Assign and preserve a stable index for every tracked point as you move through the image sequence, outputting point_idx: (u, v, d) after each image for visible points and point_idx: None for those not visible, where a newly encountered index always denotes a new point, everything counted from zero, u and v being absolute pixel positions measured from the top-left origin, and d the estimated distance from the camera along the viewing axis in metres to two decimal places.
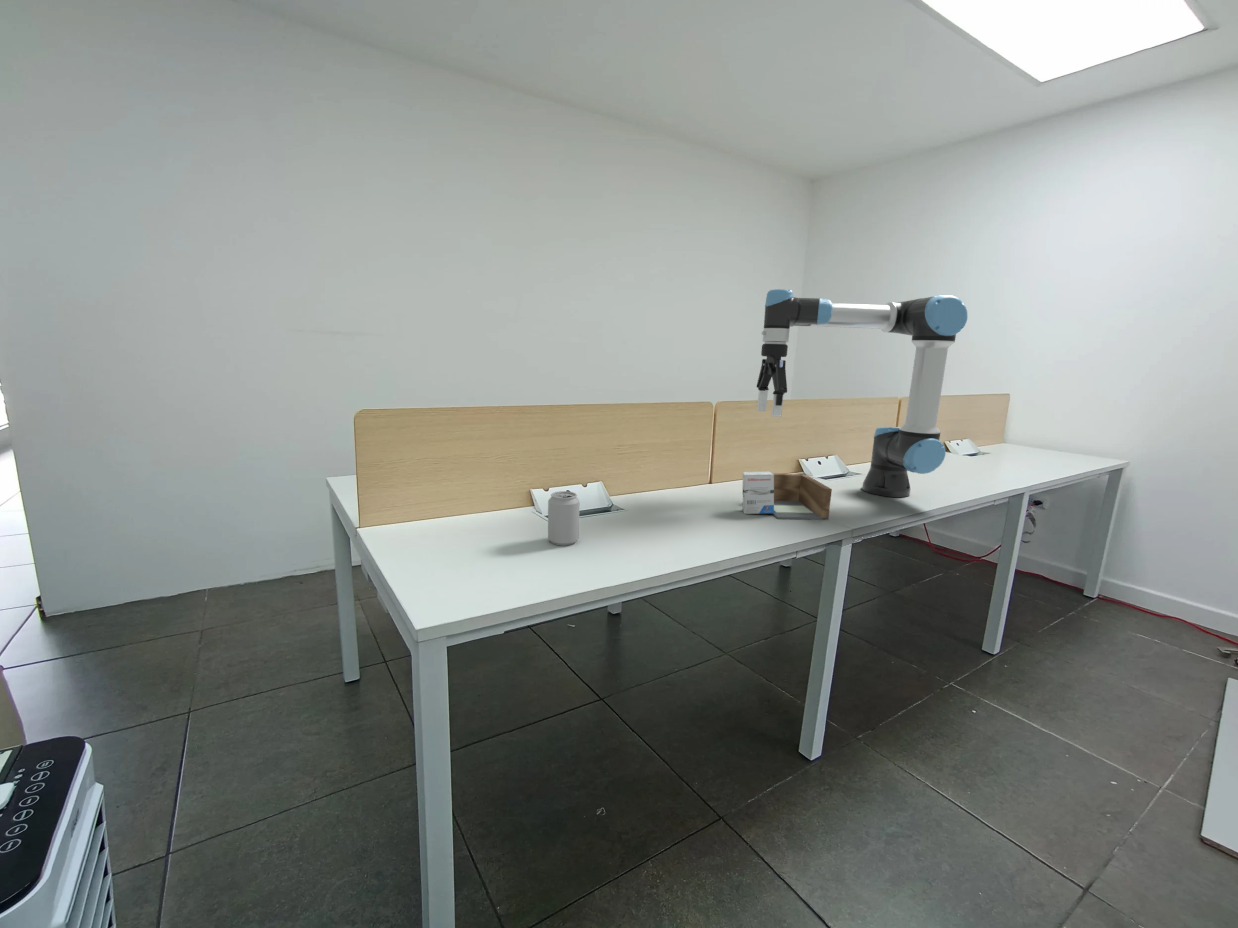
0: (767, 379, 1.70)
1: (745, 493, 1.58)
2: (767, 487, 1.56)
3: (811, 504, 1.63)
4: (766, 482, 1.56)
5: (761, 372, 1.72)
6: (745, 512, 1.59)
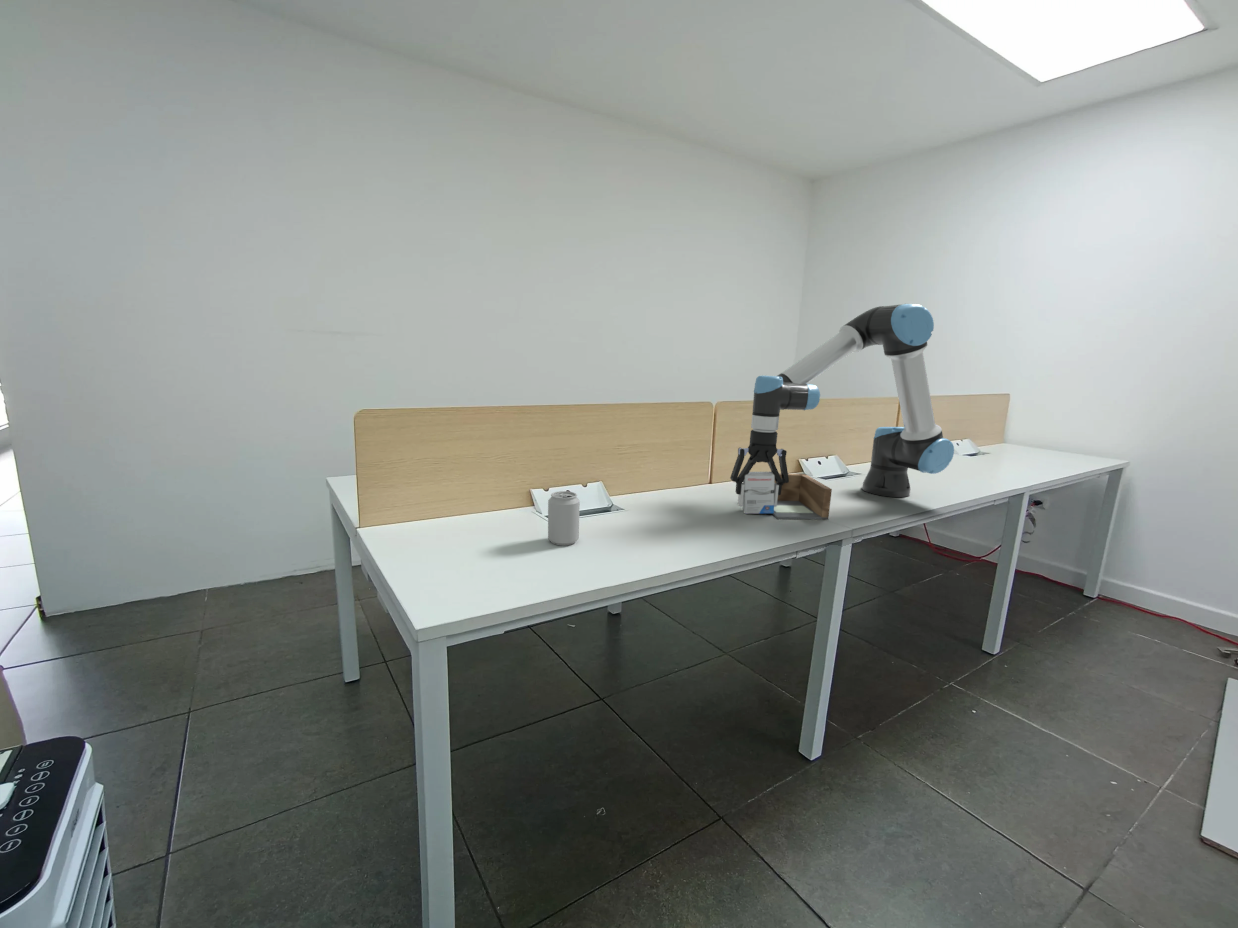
0: (771, 469, 1.58)
1: (745, 493, 1.58)
2: (768, 487, 1.56)
3: (811, 504, 1.63)
4: (767, 482, 1.56)
5: (779, 462, 1.59)
6: (745, 512, 1.59)
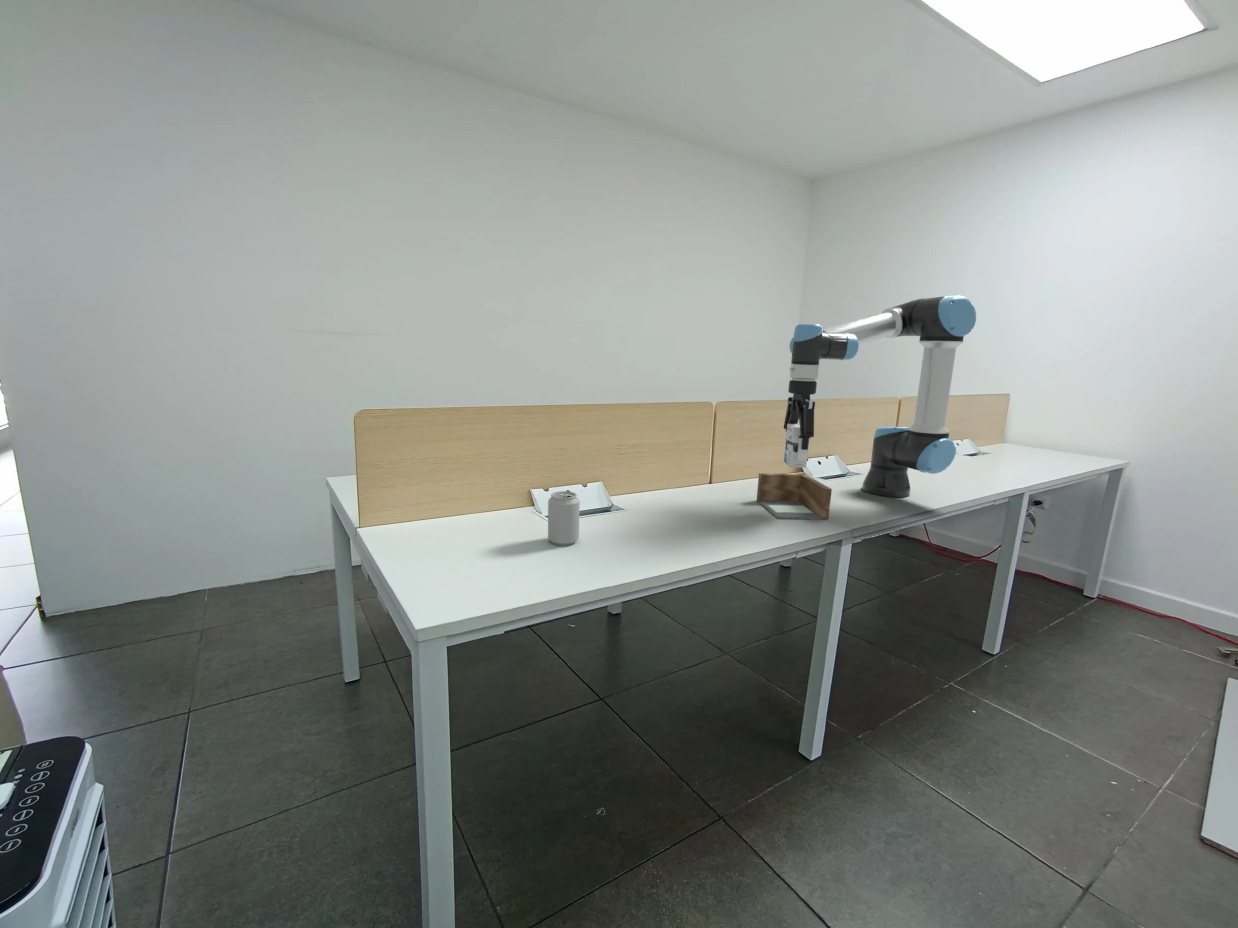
0: (795, 418, 1.60)
1: None
2: None
3: (811, 504, 1.63)
4: None
5: (788, 411, 1.62)
6: None
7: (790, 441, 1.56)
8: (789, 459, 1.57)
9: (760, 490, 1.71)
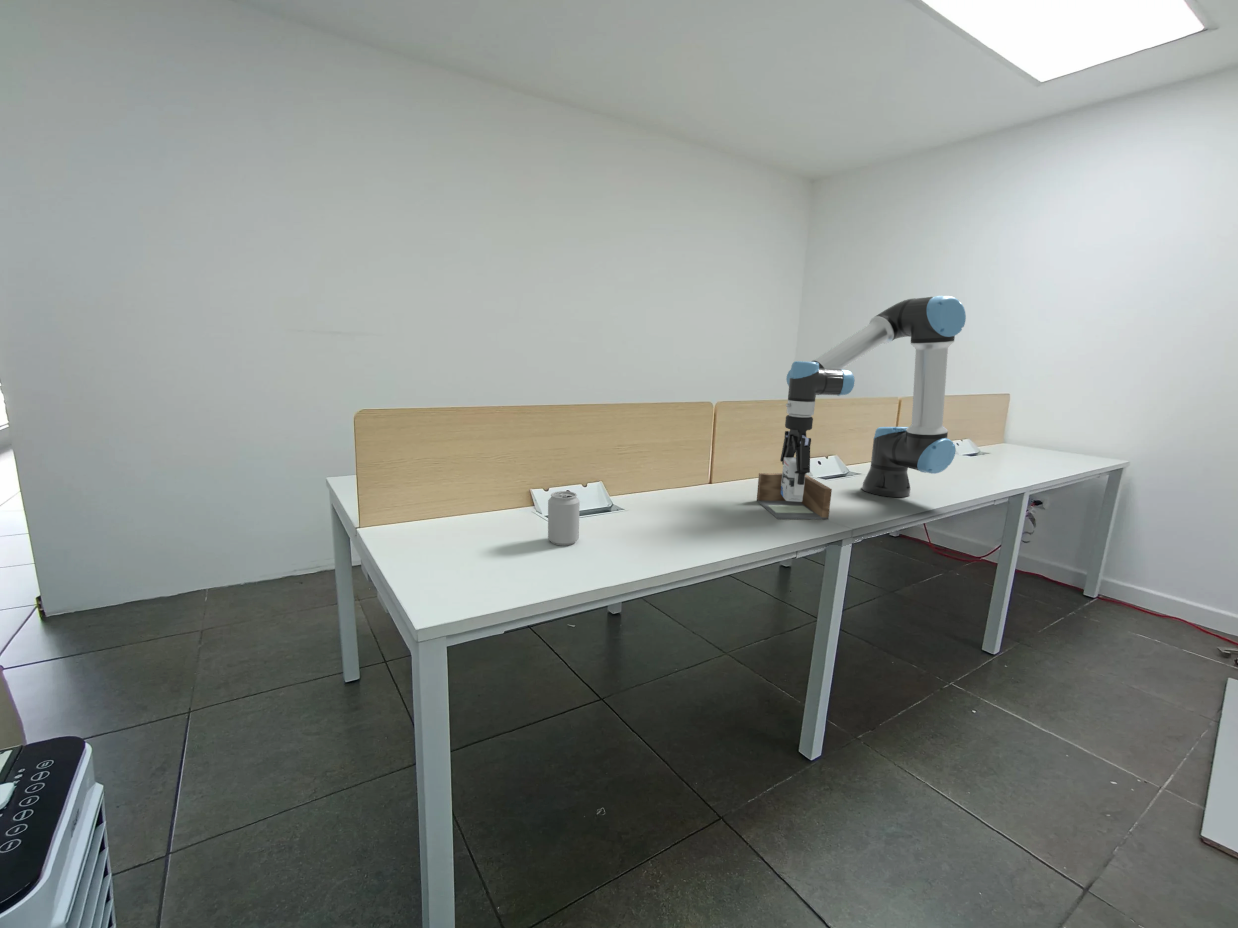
0: (792, 452, 1.63)
1: None
2: None
3: (811, 504, 1.63)
4: None
5: (785, 444, 1.65)
6: None
7: (786, 475, 1.58)
8: (785, 493, 1.59)
9: (760, 490, 1.71)
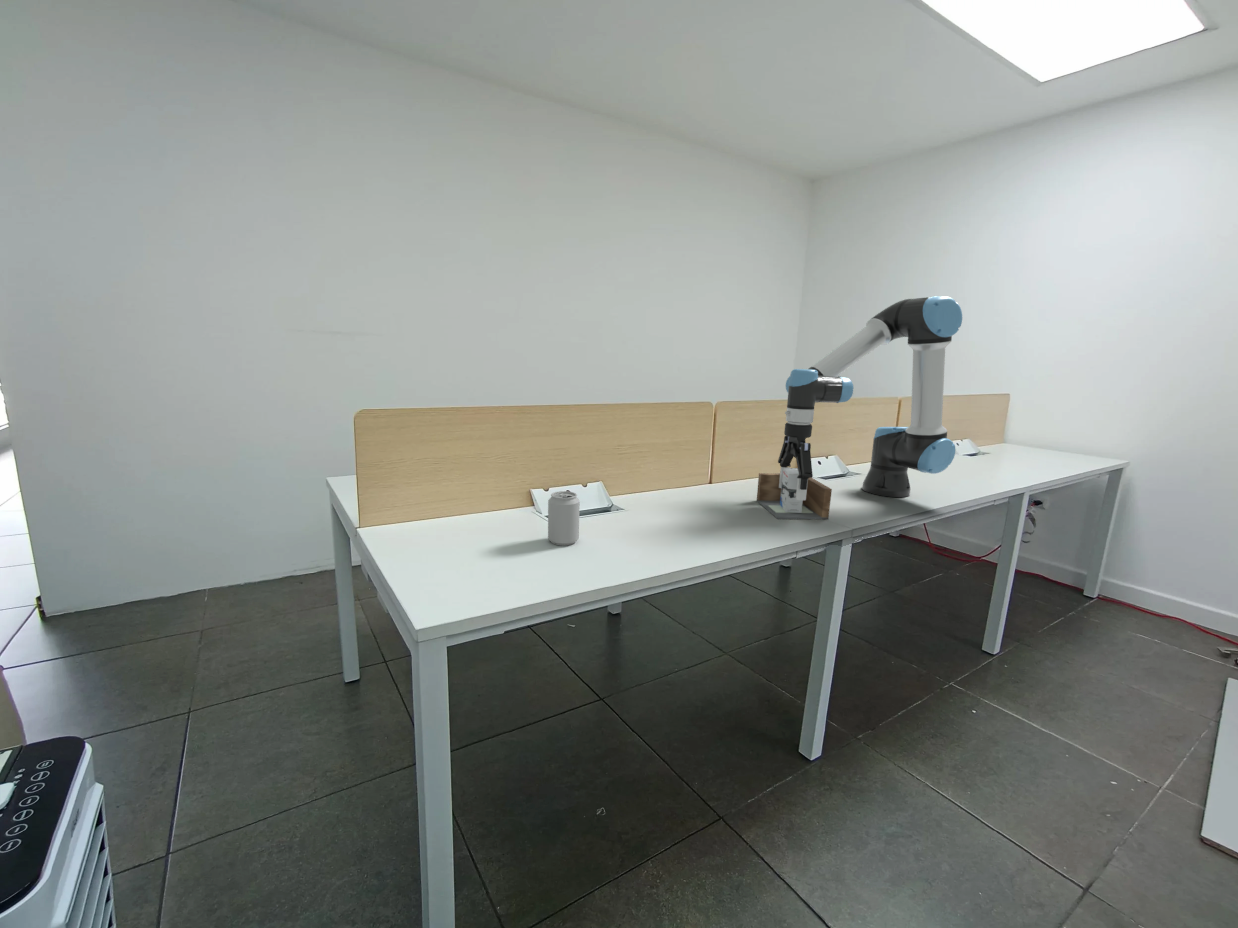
0: (790, 457, 1.64)
1: None
2: None
3: (811, 504, 1.63)
4: None
5: (783, 449, 1.66)
6: (801, 511, 1.59)
7: (786, 487, 1.59)
8: (785, 504, 1.60)
9: (760, 490, 1.71)
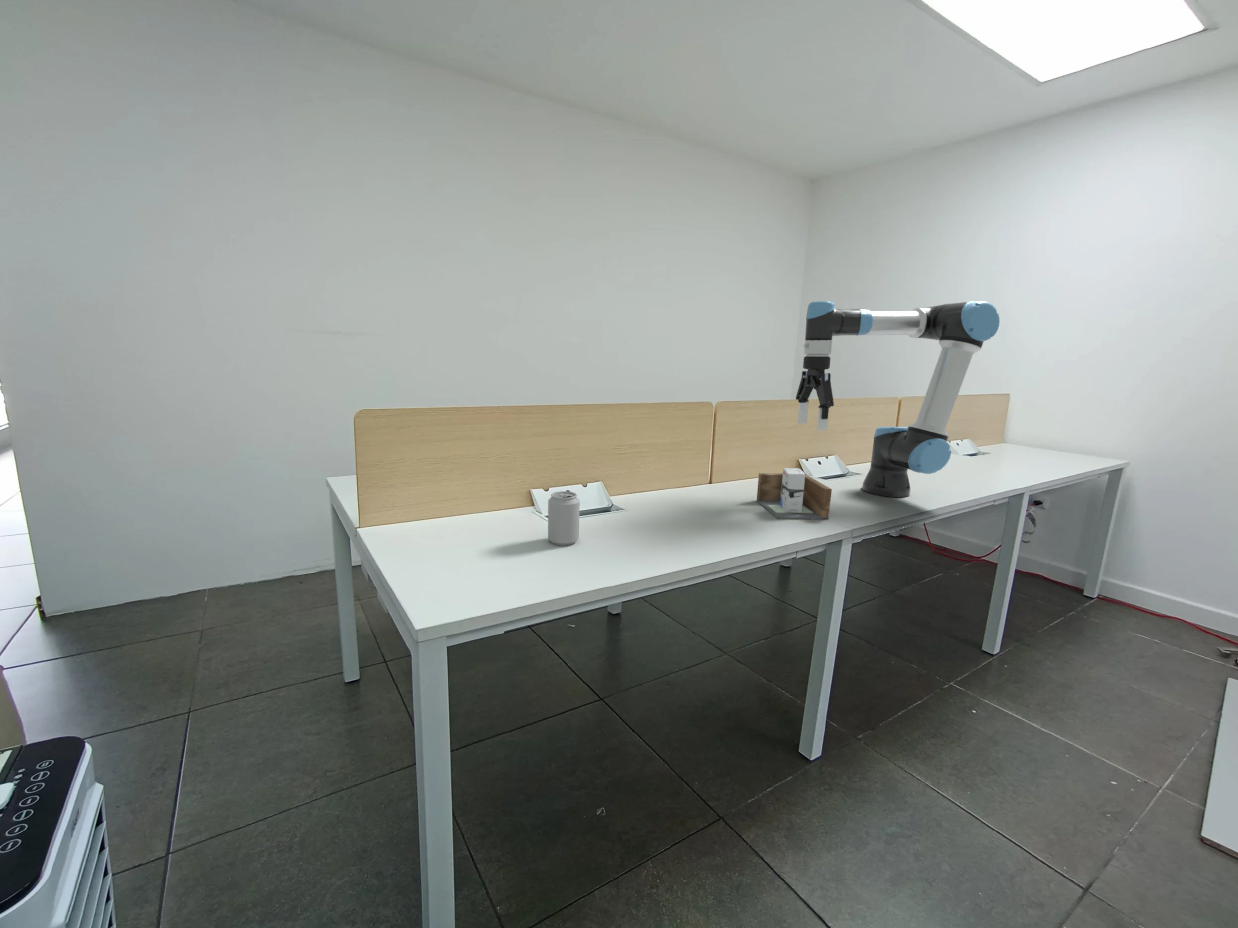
0: (808, 391, 1.67)
1: None
2: None
3: (811, 504, 1.63)
4: None
5: (801, 384, 1.69)
6: (801, 511, 1.59)
7: (786, 487, 1.59)
8: (785, 504, 1.60)
9: (760, 490, 1.71)
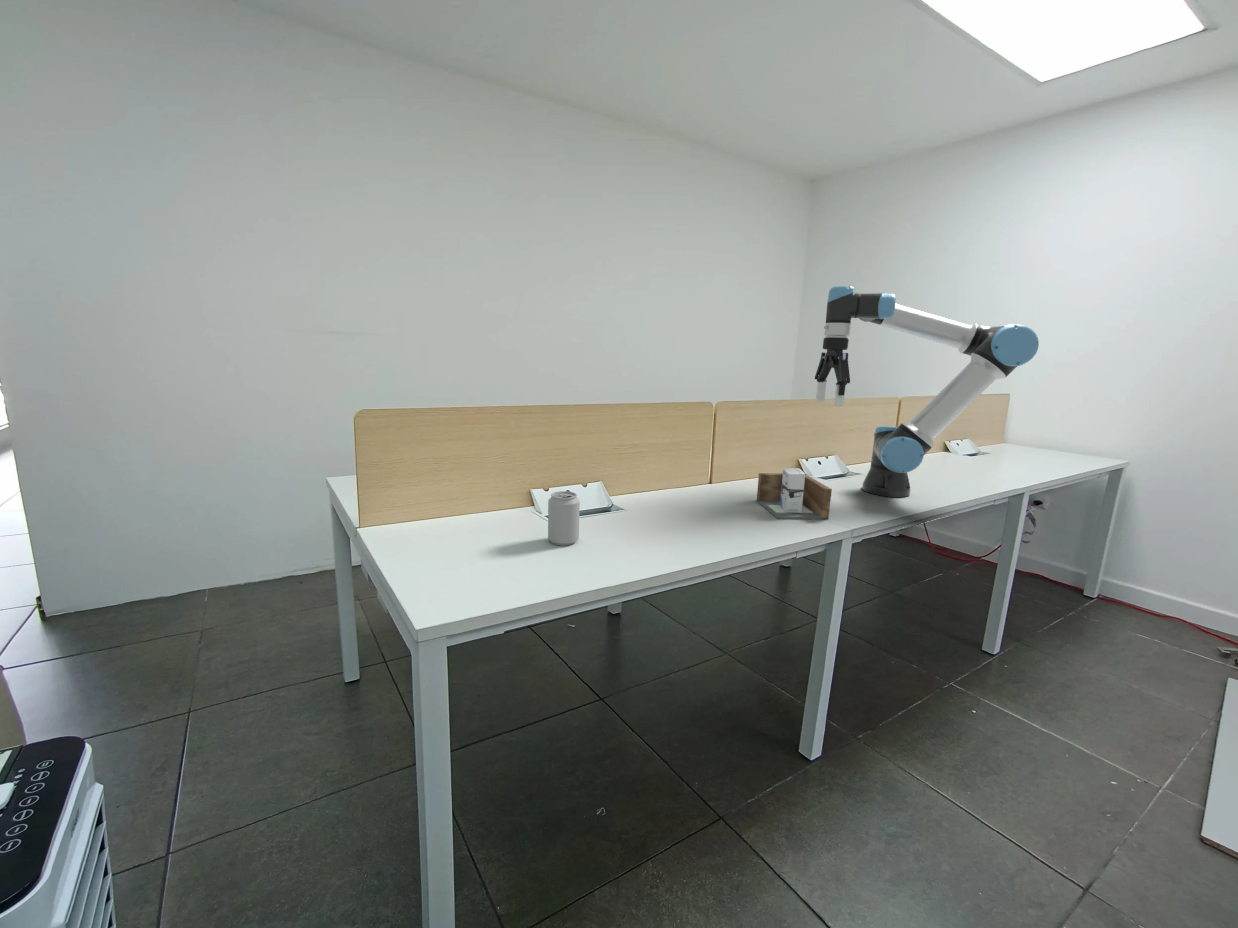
0: (827, 371, 1.80)
1: None
2: None
3: (811, 504, 1.63)
4: None
5: (820, 364, 1.82)
6: (801, 511, 1.59)
7: (786, 487, 1.59)
8: (785, 504, 1.60)
9: (760, 490, 1.71)
